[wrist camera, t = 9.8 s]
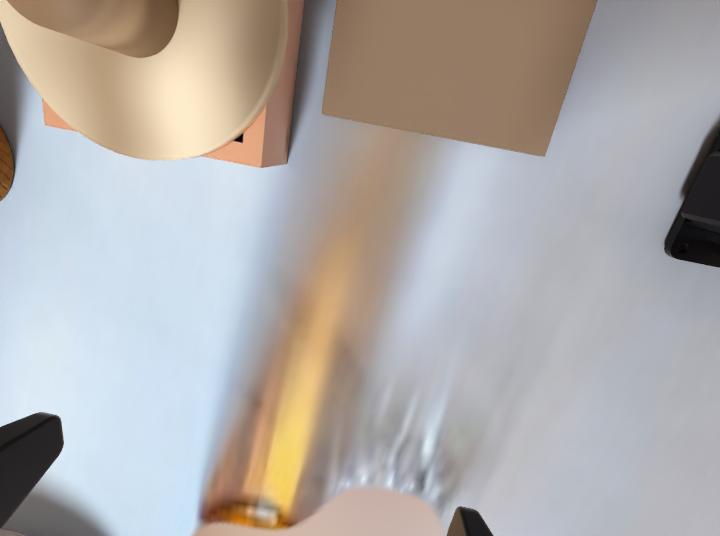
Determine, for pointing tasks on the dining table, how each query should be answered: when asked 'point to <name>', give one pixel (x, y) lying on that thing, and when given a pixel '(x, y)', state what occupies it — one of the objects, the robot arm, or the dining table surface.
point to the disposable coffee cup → (5, 165)
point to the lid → (151, 68)
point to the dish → (272, 127)
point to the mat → (457, 67)
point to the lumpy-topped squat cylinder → (10, 533)
